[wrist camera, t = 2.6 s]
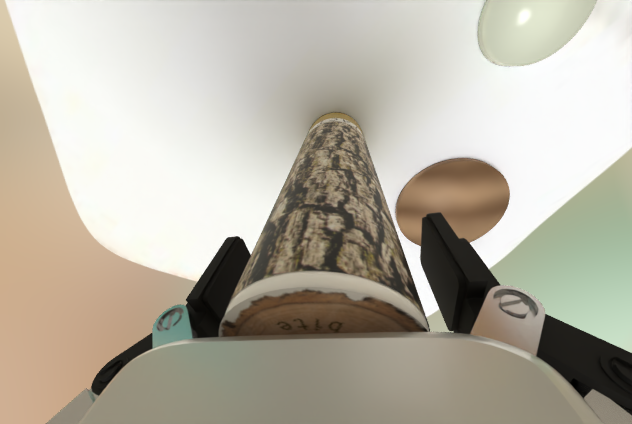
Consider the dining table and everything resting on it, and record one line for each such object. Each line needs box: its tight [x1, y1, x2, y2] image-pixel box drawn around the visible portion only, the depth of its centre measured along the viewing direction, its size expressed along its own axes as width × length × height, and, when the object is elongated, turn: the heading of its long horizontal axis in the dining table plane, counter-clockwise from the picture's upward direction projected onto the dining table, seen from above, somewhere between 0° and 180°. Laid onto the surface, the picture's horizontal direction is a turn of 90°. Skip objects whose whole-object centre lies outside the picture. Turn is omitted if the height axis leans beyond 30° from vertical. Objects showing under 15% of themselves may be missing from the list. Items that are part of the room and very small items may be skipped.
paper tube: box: [219, 113, 430, 337], centre depth 18 cm, size 7×7×25 cm
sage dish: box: [478, 0, 597, 66], centre depth 20 cm, size 8×8×2 cm
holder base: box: [395, 158, 510, 246], centre depth 25 cm, size 14×14×17 cm
